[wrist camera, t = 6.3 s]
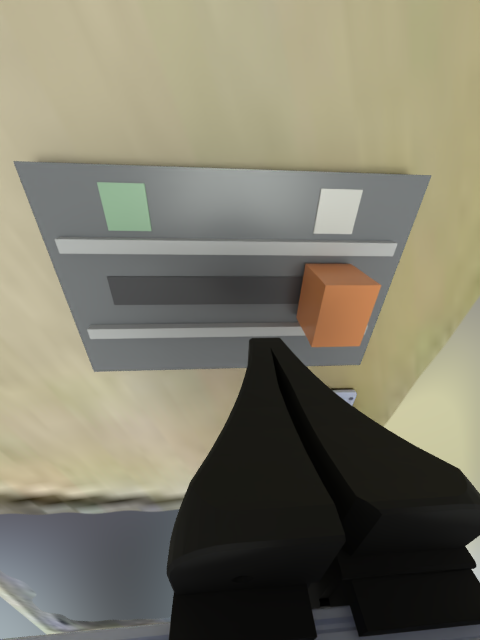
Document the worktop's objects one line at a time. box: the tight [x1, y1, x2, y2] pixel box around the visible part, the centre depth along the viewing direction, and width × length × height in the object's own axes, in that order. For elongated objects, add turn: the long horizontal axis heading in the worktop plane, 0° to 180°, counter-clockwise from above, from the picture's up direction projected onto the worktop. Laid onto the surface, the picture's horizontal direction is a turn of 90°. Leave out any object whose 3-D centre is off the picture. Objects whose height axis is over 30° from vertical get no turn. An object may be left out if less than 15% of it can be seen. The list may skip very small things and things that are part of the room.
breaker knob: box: [296, 264, 381, 347], centre depth 15 cm, size 4×3×4 cm
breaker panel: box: [13, 161, 431, 372], centre depth 17 cm, size 14×22×3 cm, turn 88°
